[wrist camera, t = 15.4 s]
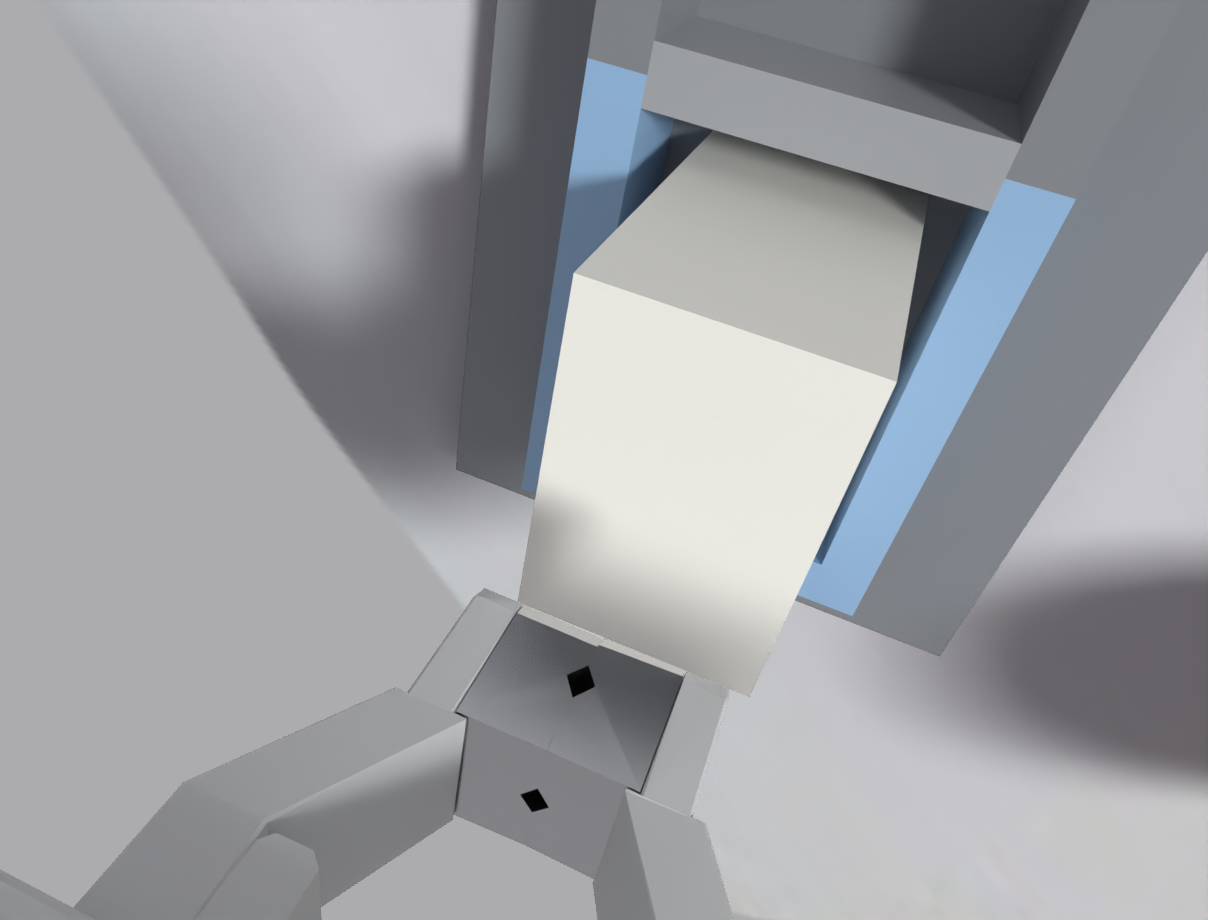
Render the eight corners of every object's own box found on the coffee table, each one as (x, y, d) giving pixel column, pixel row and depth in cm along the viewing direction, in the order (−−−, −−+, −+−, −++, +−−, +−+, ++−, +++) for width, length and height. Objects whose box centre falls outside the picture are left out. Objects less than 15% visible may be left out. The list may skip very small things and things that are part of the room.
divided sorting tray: (639, -1170, 10) (501, -1573, 7) (2068, -1129, 7) (2692, -1696, 5) (473, 449, 24) (407, 525, 21) (941, 627, 22) (934, 738, 19)
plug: (714, 129, 16) (573, 272, 10) (929, 193, 15) (897, 381, 10) (647, 395, 20) (517, 601, 14) (817, 456, 19) (749, 696, 14)
